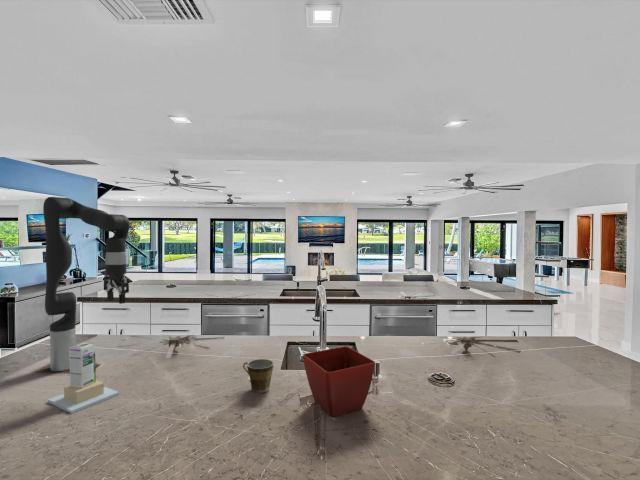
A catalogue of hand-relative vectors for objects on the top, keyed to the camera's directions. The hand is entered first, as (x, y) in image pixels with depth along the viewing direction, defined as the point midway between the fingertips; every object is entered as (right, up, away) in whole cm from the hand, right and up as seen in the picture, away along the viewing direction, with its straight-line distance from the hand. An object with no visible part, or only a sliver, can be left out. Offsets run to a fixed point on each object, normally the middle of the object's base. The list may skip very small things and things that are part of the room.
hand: (116, 302), depth 148 cm
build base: (-1, -32, -18) cm, 37 cm away
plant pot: (+91, -33, -22) cm, 99 cm away
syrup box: (-2, -27, -18) cm, 32 cm away
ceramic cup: (+60, -32, -9) cm, 69 cm away
